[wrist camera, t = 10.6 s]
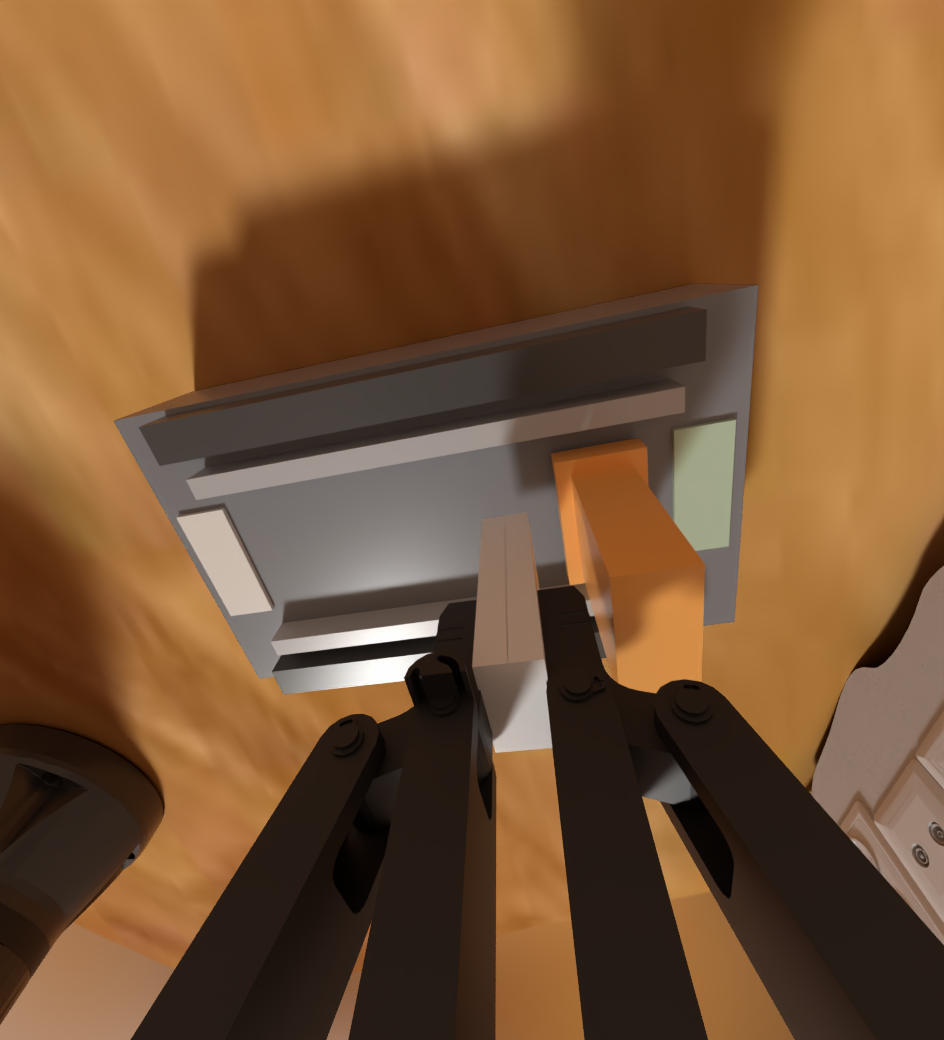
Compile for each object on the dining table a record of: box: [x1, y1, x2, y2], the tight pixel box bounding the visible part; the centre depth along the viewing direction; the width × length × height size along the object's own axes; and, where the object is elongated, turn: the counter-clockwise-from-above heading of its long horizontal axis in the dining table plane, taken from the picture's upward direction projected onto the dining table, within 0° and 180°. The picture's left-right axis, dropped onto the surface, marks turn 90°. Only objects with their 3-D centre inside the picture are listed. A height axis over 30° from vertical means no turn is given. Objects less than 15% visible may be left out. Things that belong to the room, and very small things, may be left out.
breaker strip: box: [114, 283, 758, 694], centre depth 20 cm, size 22×13×6 cm, turn 102°
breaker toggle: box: [551, 438, 705, 693], centre depth 14 cm, size 3×5×7 cm, turn 11°
